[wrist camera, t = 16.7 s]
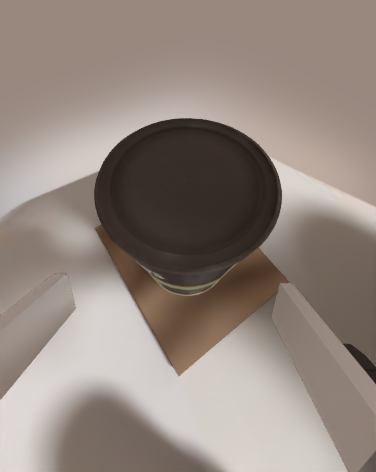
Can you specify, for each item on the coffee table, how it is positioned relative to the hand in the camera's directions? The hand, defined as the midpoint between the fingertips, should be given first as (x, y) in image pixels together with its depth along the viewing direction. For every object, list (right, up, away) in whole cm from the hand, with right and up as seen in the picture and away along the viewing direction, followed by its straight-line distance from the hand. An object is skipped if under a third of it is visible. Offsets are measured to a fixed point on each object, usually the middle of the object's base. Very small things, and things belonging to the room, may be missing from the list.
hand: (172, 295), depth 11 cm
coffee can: (+1, +1, +12) cm, 12 cm away
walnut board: (+1, +1, +13) cm, 13 cm away
